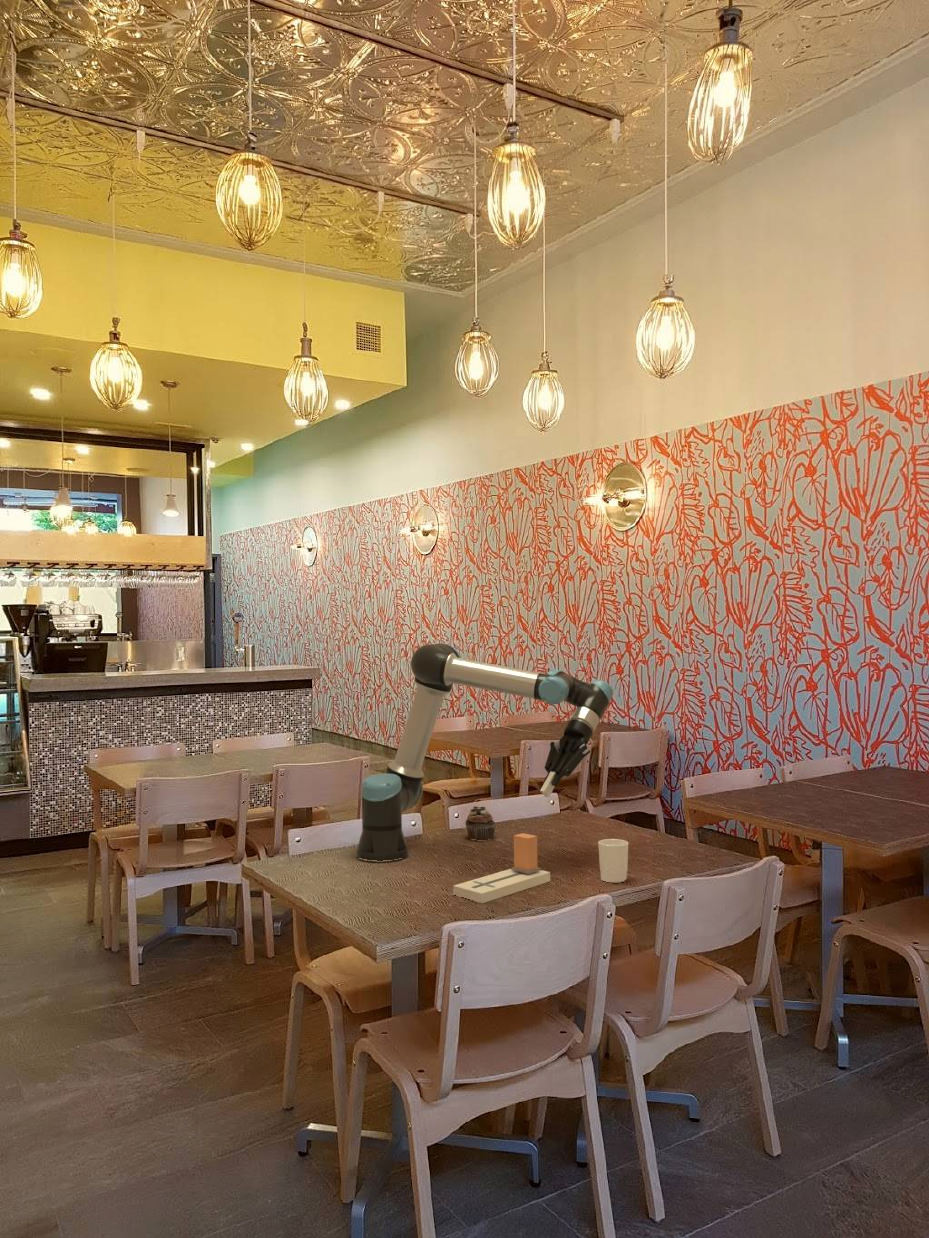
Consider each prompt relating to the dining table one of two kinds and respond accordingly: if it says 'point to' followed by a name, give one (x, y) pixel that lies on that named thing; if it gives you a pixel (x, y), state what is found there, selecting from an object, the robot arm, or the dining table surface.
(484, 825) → the cupcake
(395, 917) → the dining table surface
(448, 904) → the dining table surface
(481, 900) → the fader console
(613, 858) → the white cup
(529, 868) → the fader knob
